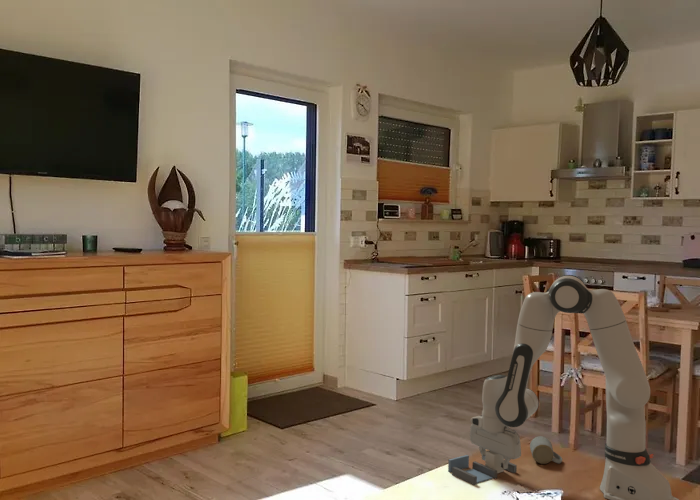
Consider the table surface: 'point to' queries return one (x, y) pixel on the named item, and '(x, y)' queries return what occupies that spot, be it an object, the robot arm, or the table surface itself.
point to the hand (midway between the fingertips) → (494, 464)
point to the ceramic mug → (543, 451)
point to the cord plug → (494, 461)
